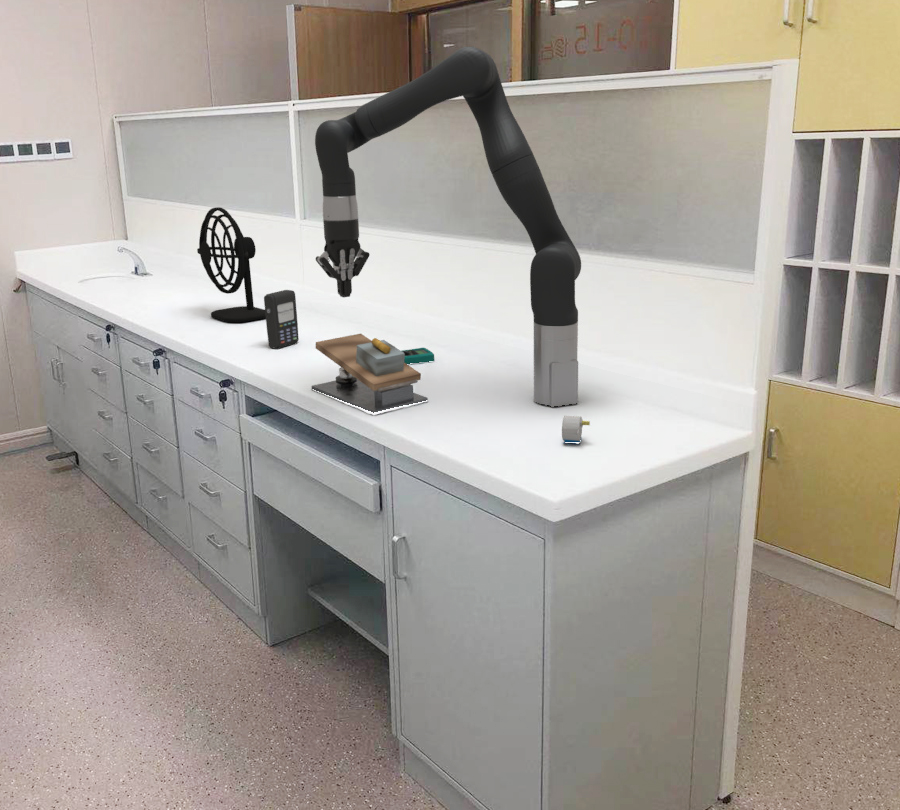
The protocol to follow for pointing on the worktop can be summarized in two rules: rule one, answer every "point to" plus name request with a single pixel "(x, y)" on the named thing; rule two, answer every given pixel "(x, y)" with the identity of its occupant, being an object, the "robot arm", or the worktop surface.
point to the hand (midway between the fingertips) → (345, 296)
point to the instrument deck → (349, 361)
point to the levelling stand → (367, 393)
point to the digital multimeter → (418, 355)
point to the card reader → (281, 318)
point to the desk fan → (243, 252)
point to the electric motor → (572, 428)
